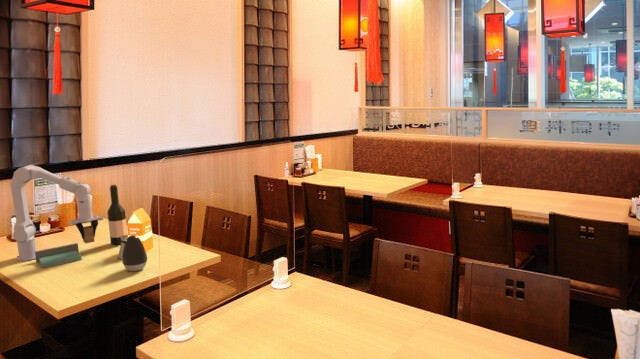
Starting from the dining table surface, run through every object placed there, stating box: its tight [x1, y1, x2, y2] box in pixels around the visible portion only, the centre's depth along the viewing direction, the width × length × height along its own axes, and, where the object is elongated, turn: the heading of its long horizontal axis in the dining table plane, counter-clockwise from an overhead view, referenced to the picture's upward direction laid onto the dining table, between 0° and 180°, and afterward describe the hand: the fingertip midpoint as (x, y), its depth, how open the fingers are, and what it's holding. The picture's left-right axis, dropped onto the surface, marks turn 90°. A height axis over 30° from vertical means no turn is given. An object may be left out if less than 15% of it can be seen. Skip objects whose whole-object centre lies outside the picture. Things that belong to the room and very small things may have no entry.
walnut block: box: [82, 225, 95, 244], centre depth 241 cm, size 4×4×7 cm
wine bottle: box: [106, 184, 128, 247], centre depth 256 cm, size 8×8×30 cm
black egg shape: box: [121, 235, 148, 272], centre depth 220 cm, size 10×10×15 cm
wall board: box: [35, 243, 83, 269], centre depth 235 cm, size 12×18×5 cm, turn 127°
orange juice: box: [126, 207, 154, 253], centre depth 245 cm, size 8×9×20 cm
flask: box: [117, 235, 128, 260], centre depth 237 cm, size 7×7×10 cm
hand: (88, 237), depth 241 cm, fingers closed on walnut block, 4 cm apart
